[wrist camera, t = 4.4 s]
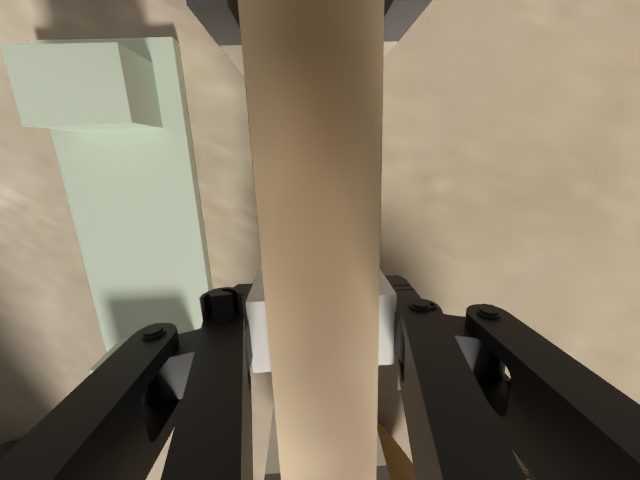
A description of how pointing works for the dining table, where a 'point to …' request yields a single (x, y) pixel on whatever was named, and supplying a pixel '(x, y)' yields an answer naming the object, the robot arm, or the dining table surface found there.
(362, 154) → the rail
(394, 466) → the plant pot
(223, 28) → the stand
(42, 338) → the dining table surface
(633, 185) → the dining table surface
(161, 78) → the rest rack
